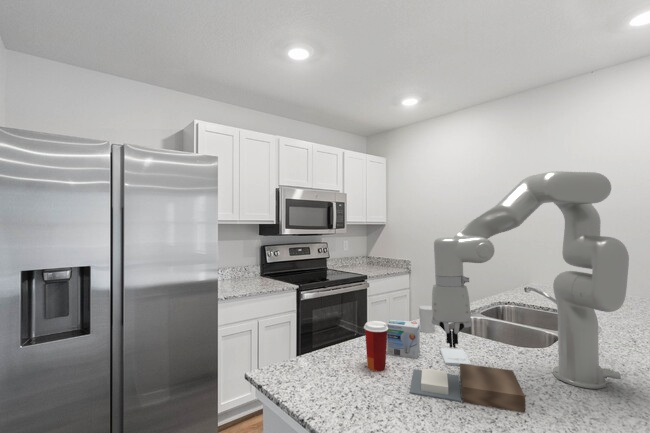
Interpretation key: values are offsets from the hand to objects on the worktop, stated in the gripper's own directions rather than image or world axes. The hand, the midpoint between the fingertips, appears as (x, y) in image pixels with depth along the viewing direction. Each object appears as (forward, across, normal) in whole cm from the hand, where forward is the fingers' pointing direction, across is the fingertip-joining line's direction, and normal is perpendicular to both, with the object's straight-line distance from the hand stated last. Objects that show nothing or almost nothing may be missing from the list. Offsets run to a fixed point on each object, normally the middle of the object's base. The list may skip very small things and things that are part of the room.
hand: (452, 346), depth 93 cm
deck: (+12, -9, +1) cm, 15 cm away
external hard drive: (+13, -1, -21) cm, 25 cm away
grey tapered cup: (+12, +9, -48) cm, 50 cm away
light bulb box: (+12, +16, -20) cm, 28 cm away
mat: (+11, +5, +1) cm, 12 cm away
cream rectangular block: (+9, +5, +1) cm, 10 cm away
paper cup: (+11, +23, -5) cm, 26 cm away
